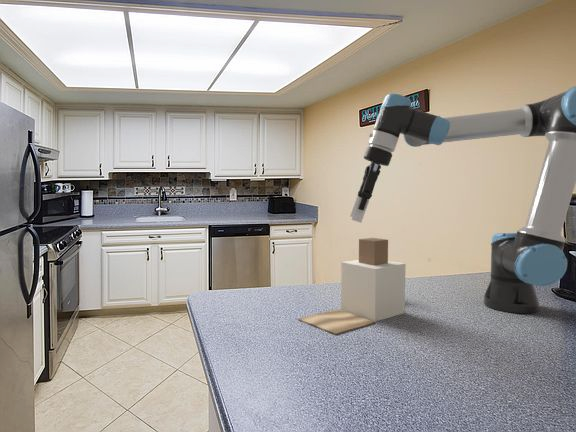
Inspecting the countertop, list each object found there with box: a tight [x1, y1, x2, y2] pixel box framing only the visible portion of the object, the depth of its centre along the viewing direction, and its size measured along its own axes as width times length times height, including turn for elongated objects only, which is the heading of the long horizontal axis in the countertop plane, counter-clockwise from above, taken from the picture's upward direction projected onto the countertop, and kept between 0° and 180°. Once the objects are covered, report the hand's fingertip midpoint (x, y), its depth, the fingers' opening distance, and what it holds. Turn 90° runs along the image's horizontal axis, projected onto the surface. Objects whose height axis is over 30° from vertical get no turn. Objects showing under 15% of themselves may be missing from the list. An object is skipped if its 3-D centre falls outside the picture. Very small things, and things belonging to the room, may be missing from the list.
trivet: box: [297, 309, 376, 336], centre depth 114 cm, size 15×15×1 cm
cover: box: [340, 237, 407, 323], centre depth 123 cm, size 13×13×22 cm
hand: (355, 219), depth 120 cm, fingers open, 13 cm apart
